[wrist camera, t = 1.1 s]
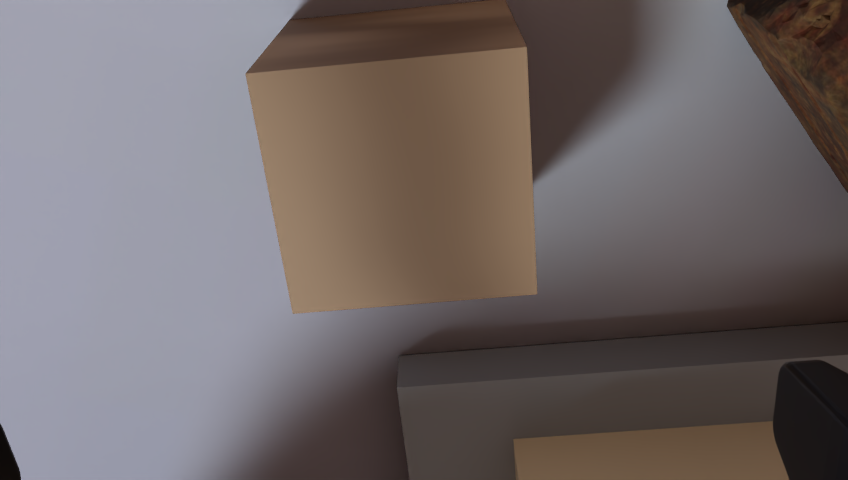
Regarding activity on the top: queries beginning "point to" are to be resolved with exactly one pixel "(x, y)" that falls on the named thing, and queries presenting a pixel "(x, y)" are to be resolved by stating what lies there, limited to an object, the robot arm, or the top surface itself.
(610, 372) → the foundation
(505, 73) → the tan cube
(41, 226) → the top surface
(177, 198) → the top surface
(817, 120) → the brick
